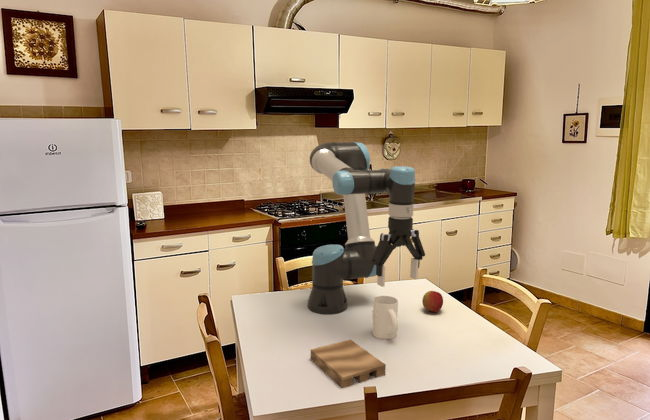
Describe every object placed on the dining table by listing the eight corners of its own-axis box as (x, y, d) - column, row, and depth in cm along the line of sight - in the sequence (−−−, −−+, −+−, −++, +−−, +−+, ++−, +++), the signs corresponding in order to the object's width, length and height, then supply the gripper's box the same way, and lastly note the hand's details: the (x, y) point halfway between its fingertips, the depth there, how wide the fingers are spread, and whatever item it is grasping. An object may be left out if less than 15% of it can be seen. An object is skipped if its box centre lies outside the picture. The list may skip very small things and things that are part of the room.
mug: (383, 346, 148) (384, 310, 146) (368, 330, 160) (368, 297, 157) (406, 342, 151) (408, 307, 149) (390, 327, 162) (391, 294, 160)
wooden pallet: (310, 358, 140) (310, 349, 140) (350, 348, 147) (350, 339, 147) (342, 388, 125) (342, 377, 124) (385, 374, 132) (385, 364, 131)
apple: (447, 312, 176) (448, 292, 175) (432, 317, 171) (433, 296, 170) (432, 306, 182) (433, 286, 181) (417, 310, 178) (418, 290, 176)
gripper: (376, 223, 137) (373, 292, 141) (438, 215, 150) (434, 278, 154) (360, 218, 143) (359, 284, 148) (422, 210, 156) (418, 272, 160)
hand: (397, 281), depth 151 cm, fingers open, 13 cm apart
